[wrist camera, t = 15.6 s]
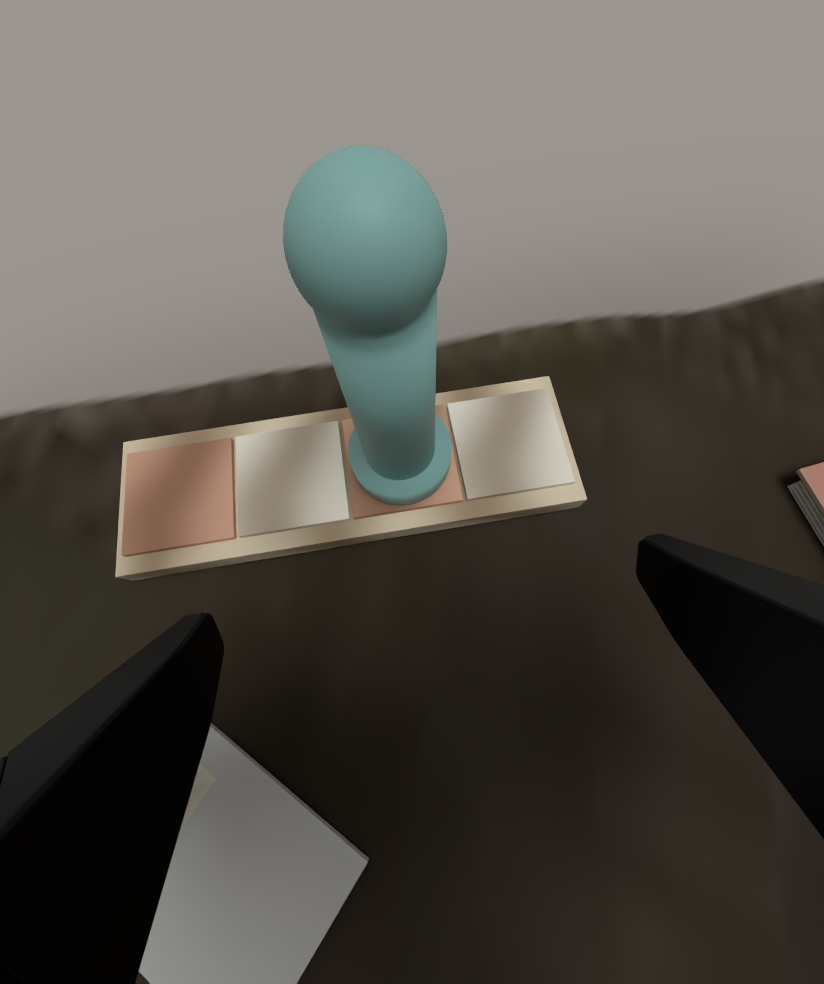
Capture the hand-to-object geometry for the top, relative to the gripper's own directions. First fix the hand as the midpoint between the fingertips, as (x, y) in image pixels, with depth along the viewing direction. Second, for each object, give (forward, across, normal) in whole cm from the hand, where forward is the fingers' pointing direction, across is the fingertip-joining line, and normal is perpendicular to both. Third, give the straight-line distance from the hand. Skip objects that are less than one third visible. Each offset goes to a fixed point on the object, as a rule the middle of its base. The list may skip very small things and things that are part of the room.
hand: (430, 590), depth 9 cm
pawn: (+11, 0, +1) cm, 11 cm away
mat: (+3, +10, +12) cm, 16 cm away
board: (+12, +2, +2) cm, 13 cm away
